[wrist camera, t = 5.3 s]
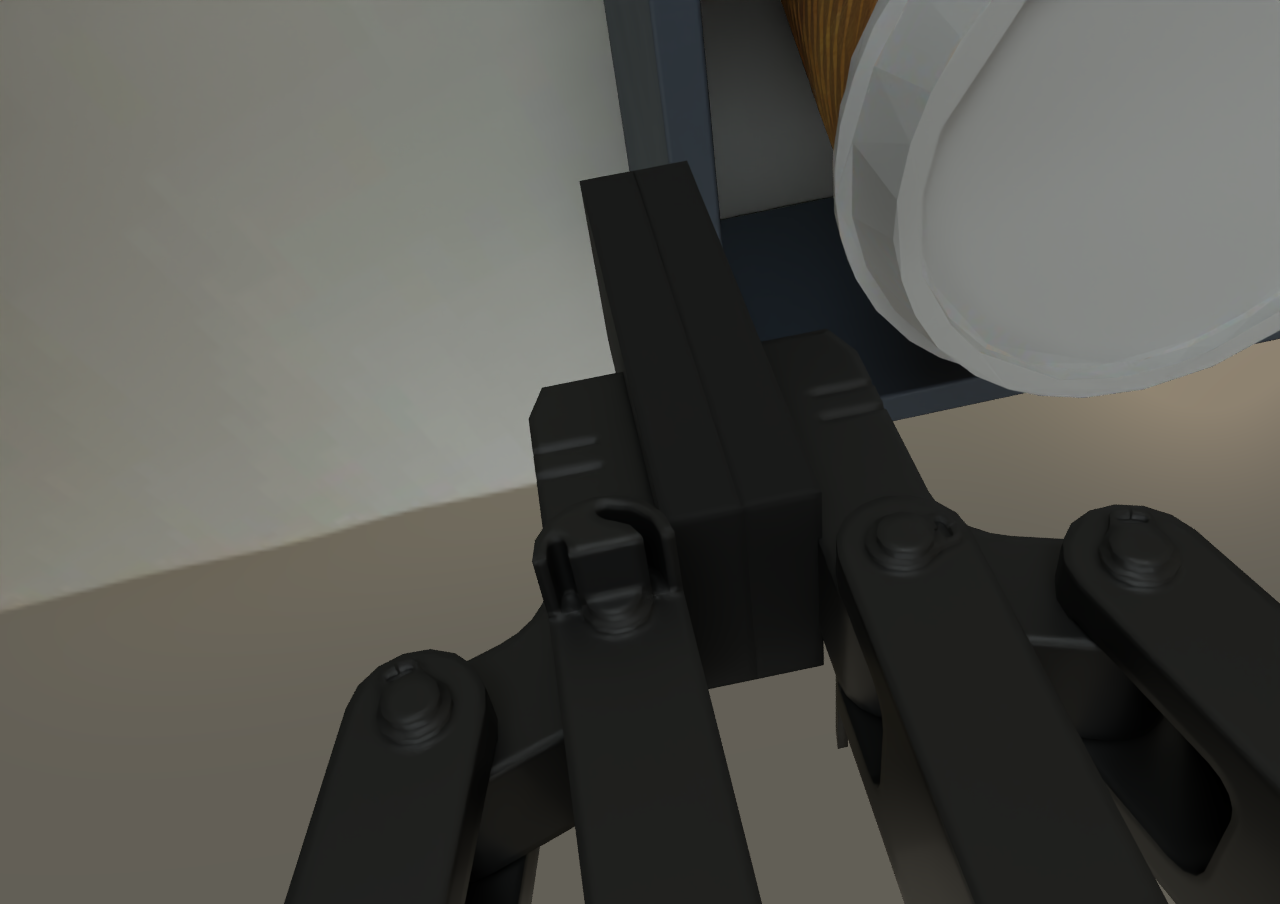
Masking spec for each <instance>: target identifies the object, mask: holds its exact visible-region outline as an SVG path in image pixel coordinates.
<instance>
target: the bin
mask: <svg viewBox="0 0 1280 904" xmlns="http://www.w3.org/2000/svg"><path fill="white" fill-rule="evenodd" d="M604 6H605V13H606V19H607V26H608V32H609V39H610V46H611V52H612V59H613V65H614V72H615V78H616V85H617V91H618V98H619V105H620V111H621V118H622V124H623V131H624V137H625V144H626V151H627V157H628V164H629V170H630V171H635V170H640V169H645V168H651V167H656V166H661V165H666V164H671V163H677V162H682V161H688V164H689V166H690V169H691V171H692V174H693V176H694V179H695V181H696V184H697V186H698V189H699V191H700V193H701V196H702V198H703V201H704V203H705V206H706V208H707V211H708V213H709V216H710V218H711V221H712V223H713V225H714V228H715V230H716V233H717V235H718V238H719V240H720V243H721V245H722V248H723V250H724V253H725V255H726V257H727V260H728V262H729V265H730V267H731V270H732V272H733V275H734V277H735V280H736V282H737V285H738V287H739V289H740V292H741V294H742V297H743V299H744V302H745V304H746V307H747V309H748V312H749V314H750V317H751V319H752V321H753V324H754V326H755V329H756V331H757V334H758V336H759V339H760V341H766V340H771V339H776V338H782V337H787V336H792V335H797V334H802V333H807V332H812V331H817V330H822V329H828V330H830V331H831V332H832V333H834V334H835V335H836V336H838V337H839V338H840V339H842V340H843V341H844V342H846V343H847V344H848V345H850V346H851V347H852V348H854V349H855V350H856V351H857V353H858V354H859V356H860V358H861V360H862V362H863V364H864V366H865V368H866V370H867V372H868V374H869V376H870V378H871V382H872V385H874V386H875V388H876V390H877V392H878V394H879V396H880V398H881V399H882V401H883V406H884V409H887V411H888V413H889V415H890V417H891V419H892V421H896V420H901V419H905V418H909V417H915V416H920V415H924V414H929V413H934V412H938V411H943V410H947V409H952V408H957V407H962V406H966V405H971V404H976V403H980V402H985V401H989V400H994V399H999V398H1004V397H1009V396H1013V395H1018V394H1023V393H1024V392H1019V391H1015V390H1010V389H1007V388H1004V387H1002V386H999V385H997V384H994V383H992V382H989V381H987V380H984V379H982V378H980V377H977V376H975V375H974V374H972V373H971V372H969V371H968V370H967V369H965V368H964V367H963V366H961V365H960V364H958V363H955V362H952V361H949V360H946V359H943V358H940V357H938V356H936V355H934V354H933V353H931V352H929V351H927V350H925V349H923V348H922V347H920V346H918V345H916V344H914V343H913V342H911V341H909V340H908V339H907V338H906V337H905V336H904V335H903V334H902V333H900V332H899V331H898V330H897V329H896V328H895V327H894V326H893V325H892V324H891V323H889V322H888V321H887V320H886V319H885V318H884V317H883V316H882V315H881V314H880V313H878V312H877V311H876V309H875V308H874V306H873V305H872V303H871V302H870V300H869V298H868V297H867V295H866V294H865V292H864V291H863V289H862V288H861V286H860V284H859V283H858V281H857V280H856V278H855V276H854V273H853V271H852V269H851V266H850V264H849V262H848V259H847V256H846V253H845V250H844V247H843V244H842V241H841V238H840V234H839V230H838V226H837V222H836V218H835V214H834V197H831V198H826V199H821V200H816V201H812V202H807V203H802V204H797V205H792V206H787V207H782V208H778V209H773V210H768V211H763V212H758V213H753V214H748V215H744V216H739V217H734V218H729V219H724V220H720V212H719V201H718V190H717V179H716V168H715V157H714V146H713V135H712V124H711V114H710V103H709V92H708V81H707V70H706V59H705V48H704V37H703V26H702V15H701V4H700V0H604ZM1276 339H1280V330H1279V331H1277V332H1276V333H1274V334H1272V335H1270V336H1268V337H1266V338H1264V339H1263V340H1261V341H1259V342H1257V343H1262V342H1266V341H1271V340H1276ZM1257 343H1255V344H1257Z"/></svg>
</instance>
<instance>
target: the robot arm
mask: <svg viewBox="0 0 1280 904" xmlns="http://www.w3.org/2000/svg"><path fill="white" fill-rule="evenodd" d="M580 186H581V191H582V197H583V202H584V208H585V214H586V219H587V225H588V230H589V236H590V241H591V247H592V253H593V258H594V264H595V269H596V275H597V280H598V286H599V291H600V297H601V303H602V308H603V314H604V319H605V325H606V330H607V336H608V341H609V345H610V350H611V354H612V358H613V363H614V367H615V371H616V373H614V374H609V375H604V376H599V377H594V378H589V379H584V380H579V381H574V382H569V383H564V384H559V385H553V386H548V387H543V388H542V389H541V391H540V394H539V396H538V398H537V401H536V403H535V405H534V408H533V410H532V412H531V414H530V417H529V425H530V433H531V441H532V449H533V454H534V464H535V472H536V478H537V487H538V495H539V503H540V510H541V518H542V526H543V529H542V531H541V532H540V534H539V535H538V537H537V538H536V540H535V545H534V552H533V559H532V562H533V566H534V569H535V573H536V576H537V580H538V583H539V586H540V590H541V593H542V597H543V600H544V601H543V603H542V605H541V607H540V608H539V610H538V611H537V613H536V614H535V616H534V617H533V619H532V620H531V621H530V622H529V623H528V624H527V625H526V626H525V627H524V628H523V629H521V630H520V631H519V633H517V634H516V635H514V636H512V637H511V638H509V639H508V640H506V641H505V642H503V643H502V644H500V645H498V646H496V647H494V648H492V649H490V650H488V651H486V652H484V653H483V654H480V655H479V656H477V657H474V658H472V659H471V660H469V661H466V660H464V659H463V658H461V657H460V656H458V655H457V654H455V653H450V652H444V651H438V650H432V649H429V650H423V651H417V652H412V653H406V654H402V655H400V656H398V657H396V658H395V659H393V660H390V661H389V662H387V663H385V664H383V665H381V666H379V667H377V668H376V669H375V670H374V671H373V672H372V673H371V674H370V675H369V676H368V677H367V678H366V679H365V680H364V681H363V682H362V683H360V684H359V685H358V687H357V689H356V691H355V692H354V694H353V696H352V698H351V700H350V702H349V704H348V706H347V707H346V709H345V713H344V716H343V719H342V722H341V725H340V728H339V732H338V735H337V738H336V741H335V744H334V747H333V750H332V754H331V757H330V760H329V763H328V766H327V769H326V773H325V776H324V779H323V782H322V785H321V788H320V792H319V795H318V798H317V801H316V804H315V807H314V811H313V814H312V817H311V820H310V823H309V826H308V830H307V833H306V836H305V839H304V842H303V845H302V849H301V852H300V855H299V858H298V862H297V865H296V868H295V871H294V874H293V877H292V880H291V884H290V887H289V890H288V893H287V896H286V899H285V903H284V904H531V902H532V894H533V889H534V882H535V876H536V868H537V862H538V855H539V849H540V846H541V845H543V844H545V843H547V842H549V841H550V840H552V839H554V838H555V837H557V836H559V835H561V834H562V833H564V832H566V831H568V830H569V829H571V828H572V827H575V829H576V837H577V845H578V853H579V860H580V869H581V876H582V884H583V892H584V900H585V904H762V902H761V898H760V894H759V890H758V886H757V882H756V878H755V874H754V870H753V866H752V862H751V858H750V854H749V850H748V846H747V842H746V838H745V834H744V830H743V826H742V822H741V818H740V814H739V810H738V806H737V802H736V798H735V794H734V790H733V786H732V782H731V778H730V775H729V770H728V767H727V763H726V758H725V755H724V750H723V746H722V742H721V738H720V735H719V730H718V727H717V723H716V719H715V715H714V711H713V707H712V703H711V699H710V695H709V691H708V689H711V688H716V687H721V686H726V685H731V684H735V683H740V682H745V681H750V680H754V679H759V678H764V677H769V676H774V675H779V674H783V673H788V672H793V671H798V670H802V669H807V668H812V667H817V666H821V665H824V652H823V651H824V650H823V648H824V647H823V640H824V643H825V645H826V649H827V651H828V654H829V657H830V659H831V663H832V665H833V668H834V671H835V674H836V736H837V745H838V749H839V748H844V747H848V740H849V743H850V746H851V749H852V752H853V755H854V758H855V761H856V763H857V767H858V770H859V772H860V775H861V778H862V781H863V784H864V787H865V790H866V793H867V795H868V798H869V801H870V804H871V807H872V810H873V813H874V816H875V819H876V822H877V825H878V828H879V830H880V833H881V836H882V839H883V842H884V845H885V848H886V851H887V854H888V856H889V860H890V862H891V865H892V868H893V871H894V874H895V877H896V880H897V883H898V885H899V889H900V891H901V894H902V897H903V900H904V903H905V904H1168V902H1167V900H1166V898H1165V896H1164V895H1163V893H1162V891H1161V889H1160V887H1159V885H1158V883H1157V881H1158V882H1159V884H1160V885H1161V886H1162V887H1163V888H1164V890H1165V891H1166V892H1167V893H1168V895H1169V896H1170V897H1171V898H1172V899H1173V901H1174V902H1175V903H1176V904H1280V603H1279V602H1277V601H1276V600H1275V599H1274V598H1273V597H1272V596H1271V595H1269V594H1268V593H1267V592H1266V591H1265V590H1264V589H1263V588H1261V587H1260V586H1259V585H1258V584H1257V583H1255V582H1254V581H1253V580H1252V579H1251V578H1250V577H1249V576H1248V575H1246V574H1245V573H1244V572H1243V571H1242V570H1241V569H1239V568H1238V567H1237V566H1236V565H1235V564H1234V563H1233V562H1232V561H1230V560H1229V559H1228V558H1227V557H1226V556H1225V555H1224V554H1222V553H1221V552H1220V551H1219V550H1218V549H1216V548H1215V547H1214V546H1213V545H1212V544H1211V543H1210V542H1209V541H1208V540H1206V539H1205V538H1204V537H1203V536H1202V535H1201V534H1199V533H1198V532H1197V531H1196V530H1195V529H1193V528H1191V527H1190V526H1188V525H1187V524H1185V523H1183V522H1182V521H1180V520H1179V519H1177V518H1176V517H1174V516H1173V515H1170V514H1167V513H1164V512H1161V511H1157V510H1154V509H1151V508H1148V507H1145V506H1133V505H1111V506H1107V507H1103V508H1099V509H1094V510H1090V511H1088V512H1087V513H1086V514H1084V515H1083V516H1081V517H1080V518H1078V519H1077V520H1076V521H1074V522H1073V523H1071V525H1070V527H1069V529H1068V531H1067V533H1066V535H1065V537H1064V539H1053V538H1035V537H1017V536H1007V535H1000V534H993V533H988V532H985V531H982V530H979V529H976V528H973V527H970V526H968V525H966V524H965V522H964V521H963V520H962V519H961V518H960V516H959V515H958V514H957V513H956V512H954V511H952V510H951V509H949V508H947V507H945V506H943V505H942V504H940V503H938V502H936V501H935V500H934V499H933V497H932V496H931V494H930V493H929V491H928V490H927V488H926V486H925V484H924V482H923V480H922V478H921V476H920V474H919V472H918V470H917V468H916V466H915V464H914V462H913V460H912V458H911V456H910V454H909V452H908V450H907V448H906V446H905V445H904V443H903V441H902V439H901V437H900V435H899V433H898V431H897V429H896V427H895V425H894V423H893V421H892V419H891V417H890V415H889V413H888V411H887V409H884V406H883V401H882V399H881V398H880V396H879V394H878V392H877V390H876V388H875V386H874V385H872V382H871V378H870V376H869V374H868V372H867V370H866V368H865V366H864V364H863V362H862V360H861V358H860V356H859V354H858V353H857V351H856V350H855V349H854V348H852V347H851V346H850V345H848V344H847V343H846V342H844V341H843V340H842V339H840V338H839V337H838V336H836V335H835V334H834V333H832V332H831V331H830V330H828V329H822V330H817V331H812V332H807V333H802V334H797V335H792V336H787V337H782V338H776V339H771V340H766V341H760V339H759V336H758V334H757V331H756V329H755V326H754V324H753V321H752V319H751V317H750V314H749V312H748V309H747V307H746V304H745V302H744V299H743V297H742V294H741V292H740V289H739V287H738V285H737V282H736V280H735V277H734V275H733V272H732V270H731V267H730V265H729V262H728V260H727V257H726V255H725V253H724V250H723V248H722V245H721V243H720V240H719V238H718V235H717V233H716V230H715V228H714V225H713V223H712V221H711V218H710V216H709V213H708V211H707V208H706V206H705V203H704V201H703V198H702V196H701V193H700V191H699V189H698V186H697V184H696V181H695V179H694V176H693V174H692V171H691V169H690V166H689V164H688V161H682V162H677V163H671V164H666V165H661V166H656V167H651V168H645V169H640V170H635V171H630V172H625V173H619V174H614V175H609V176H604V177H599V178H593V179H588V180H583V181H580ZM1156 880H1157V881H1156Z"/></svg>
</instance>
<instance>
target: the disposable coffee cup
mask: <svg viewBox="0 0 1280 904" xmlns="http://www.w3.org/2000/svg"><path fill="white" fill-rule="evenodd" d="M781 3H782V5H783V8H784V11H785V14H786V17H787V20H788V22H789V25H790V28H791V31H792V34H793V36H794V39H795V42H796V45H797V48H798V51H799V54H800V57H801V60H802V63H803V65H804V68H805V71H806V74H807V77H808V79H809V82H810V85H811V89H812V93H813V95H814V98H815V100H816V103H817V107H818V110H819V112H820V115H821V118H822V121H823V123H824V126H825V129H826V131H827V134H828V137H829V140H830V143H831V146H832V149H833V157H832V164H833V193H834V214H835V218H836V222H837V226H838V230H839V234H840V238H841V241H842V244H843V247H844V250H845V253H846V256H847V259H848V262H849V264H850V266H851V269H852V271H853V273H854V276H855V278H856V280H857V281H858V283H859V284H860V286H861V288H862V289H863V291H864V292H865V294H866V295H867V297H868V298H869V300H870V302H871V303H872V305H873V306H874V308H875V309H876V311H877V312H878V313H880V314H881V315H882V316H883V317H884V318H885V319H886V320H887V321H888V322H889V323H891V324H892V325H893V326H894V327H895V328H896V329H897V330H898V331H899V332H900V333H902V334H903V335H904V336H905V337H906V338H907V339H908V340H909V341H911V342H913V343H914V344H916V345H918V346H920V347H922V348H923V349H925V350H927V351H929V352H931V353H933V354H934V355H936V356H938V357H940V358H943V359H946V360H949V361H952V362H955V363H958V364H960V365H961V366H963V367H964V368H965V369H967V370H968V371H969V372H971V373H972V374H974V375H975V376H977V377H980V378H982V379H984V380H987V381H989V382H992V383H994V384H997V385H999V386H1002V387H1004V388H1007V389H1010V390H1015V391H1019V392H1024V393H1029V394H1034V395H1038V396H1057V397H1076V398H1086V397H1093V396H1100V395H1107V394H1115V393H1121V392H1129V391H1136V390H1143V389H1146V388H1149V387H1152V386H1155V385H1158V384H1161V383H1164V382H1167V381H1170V380H1173V379H1176V378H1179V377H1182V376H1185V375H1188V374H1191V373H1194V372H1197V371H1200V370H1203V369H1206V368H1209V367H1212V366H1214V365H1216V364H1218V363H1220V362H1222V361H1224V360H1225V359H1227V358H1229V357H1231V356H1233V355H1234V354H1237V353H1238V352H1240V351H1242V350H1244V349H1246V348H1248V347H1250V346H1251V345H1253V344H1255V343H1257V342H1259V341H1261V340H1263V339H1264V338H1266V337H1268V336H1270V335H1272V334H1274V333H1276V332H1277V331H1279V330H1280V0H781Z"/></svg>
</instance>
